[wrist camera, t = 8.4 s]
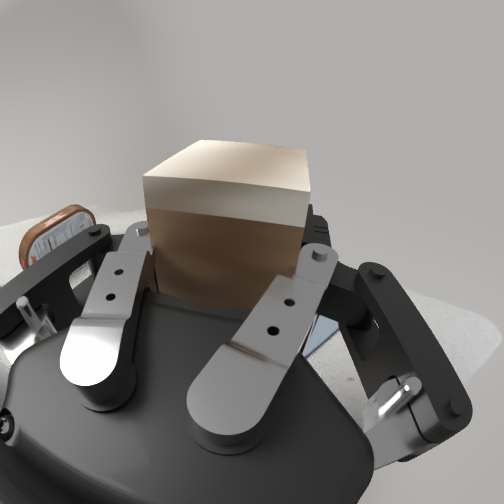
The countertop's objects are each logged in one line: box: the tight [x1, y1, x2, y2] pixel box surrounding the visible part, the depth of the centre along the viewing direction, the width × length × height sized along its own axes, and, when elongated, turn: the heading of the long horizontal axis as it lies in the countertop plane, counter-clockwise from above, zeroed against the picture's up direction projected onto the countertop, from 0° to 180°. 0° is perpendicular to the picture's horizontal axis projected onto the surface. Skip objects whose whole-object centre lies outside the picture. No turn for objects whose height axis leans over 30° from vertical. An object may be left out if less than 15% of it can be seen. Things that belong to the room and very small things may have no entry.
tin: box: [19, 205, 96, 270], centre depth 34 cm, size 15×3×8 cm, turn 157°
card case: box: [142, 140, 311, 310], centre depth 12 cm, size 4×5×10 cm
